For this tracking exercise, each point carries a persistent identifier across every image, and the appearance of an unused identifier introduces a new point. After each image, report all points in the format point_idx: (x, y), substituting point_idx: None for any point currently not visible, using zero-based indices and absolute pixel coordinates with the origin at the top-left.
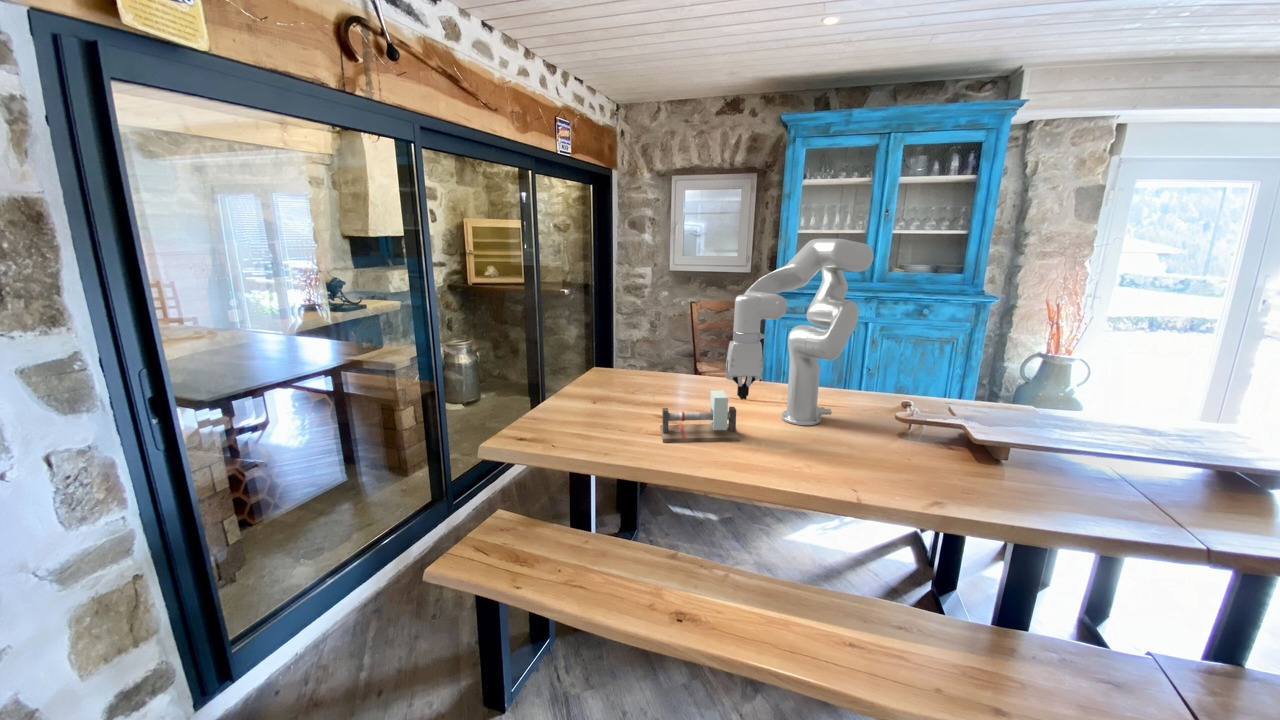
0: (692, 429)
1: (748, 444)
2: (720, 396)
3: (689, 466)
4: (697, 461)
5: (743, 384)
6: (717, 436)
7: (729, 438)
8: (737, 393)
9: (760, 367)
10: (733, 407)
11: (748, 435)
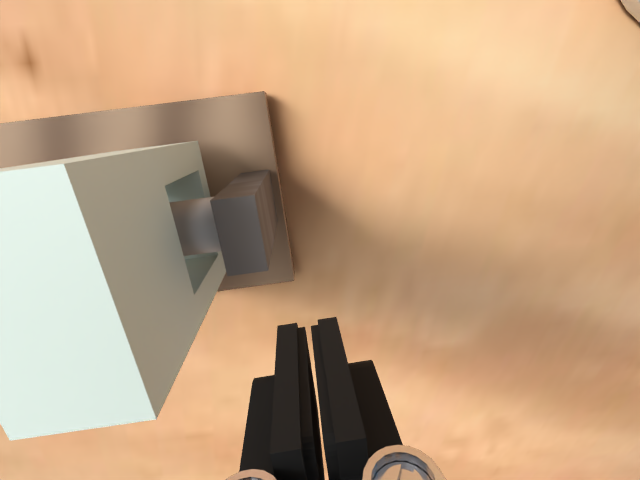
0: None
1: (330, 295)
2: (66, 395)
3: (113, 475)
4: (134, 444)
5: (339, 465)
6: None
7: (246, 284)
8: (254, 393)
9: None
10: (246, 218)
11: (344, 196)
